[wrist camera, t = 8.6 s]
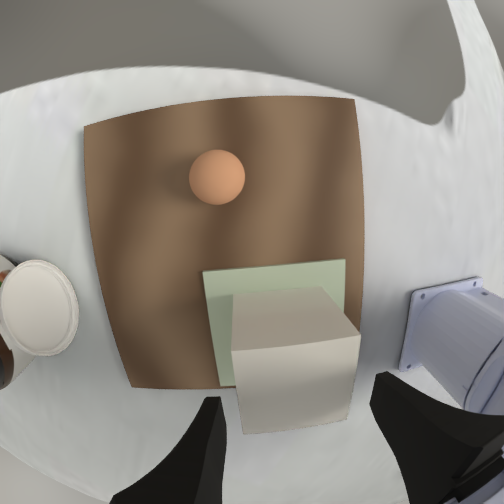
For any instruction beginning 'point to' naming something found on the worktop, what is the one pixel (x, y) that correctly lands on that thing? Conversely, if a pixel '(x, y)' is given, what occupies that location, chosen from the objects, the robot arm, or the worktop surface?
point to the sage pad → (259, 280)
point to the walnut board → (215, 217)
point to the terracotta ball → (216, 177)
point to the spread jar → (33, 314)
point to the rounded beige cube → (292, 359)
